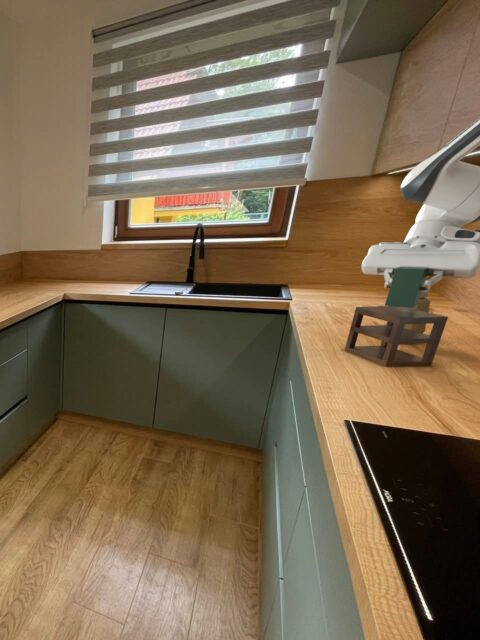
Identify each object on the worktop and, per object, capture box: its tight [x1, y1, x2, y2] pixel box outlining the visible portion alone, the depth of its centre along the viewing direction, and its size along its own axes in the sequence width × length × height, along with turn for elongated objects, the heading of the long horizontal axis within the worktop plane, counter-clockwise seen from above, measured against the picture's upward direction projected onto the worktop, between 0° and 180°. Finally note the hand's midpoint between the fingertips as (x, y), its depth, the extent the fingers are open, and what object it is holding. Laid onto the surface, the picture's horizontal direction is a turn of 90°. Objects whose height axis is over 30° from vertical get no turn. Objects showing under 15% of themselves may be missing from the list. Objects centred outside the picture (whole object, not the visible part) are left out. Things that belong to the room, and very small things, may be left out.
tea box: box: [384, 267, 429, 308], centre depth 103 cm, size 5×5×9 cm
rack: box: [344, 305, 449, 368], centre depth 107 cm, size 10×14×12 cm
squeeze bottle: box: [385, 290, 431, 334], centre depth 119 cm, size 8×8×18 cm
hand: (406, 287), depth 103 cm, fingers closed on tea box, 5 cm apart
